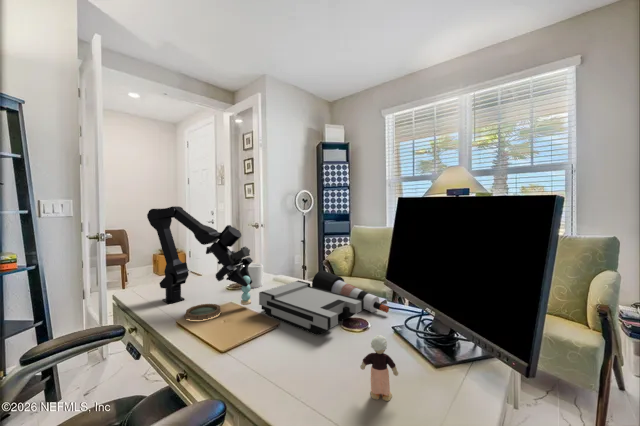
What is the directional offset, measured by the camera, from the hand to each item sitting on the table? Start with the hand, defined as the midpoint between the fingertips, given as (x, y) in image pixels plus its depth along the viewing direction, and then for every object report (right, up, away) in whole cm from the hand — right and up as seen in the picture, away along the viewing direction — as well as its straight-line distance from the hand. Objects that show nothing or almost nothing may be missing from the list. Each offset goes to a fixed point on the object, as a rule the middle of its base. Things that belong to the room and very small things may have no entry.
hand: (249, 284), depth 106 cm
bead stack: (-1, -7, +1) cm, 8 cm away
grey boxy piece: (+24, -10, -7) cm, 27 cm away
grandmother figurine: (+40, -11, -48) cm, 63 cm away
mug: (-6, -9, +29) cm, 31 cm away
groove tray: (-15, -9, -6) cm, 19 cm away
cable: (+39, -10, +5) cm, 41 cm away
